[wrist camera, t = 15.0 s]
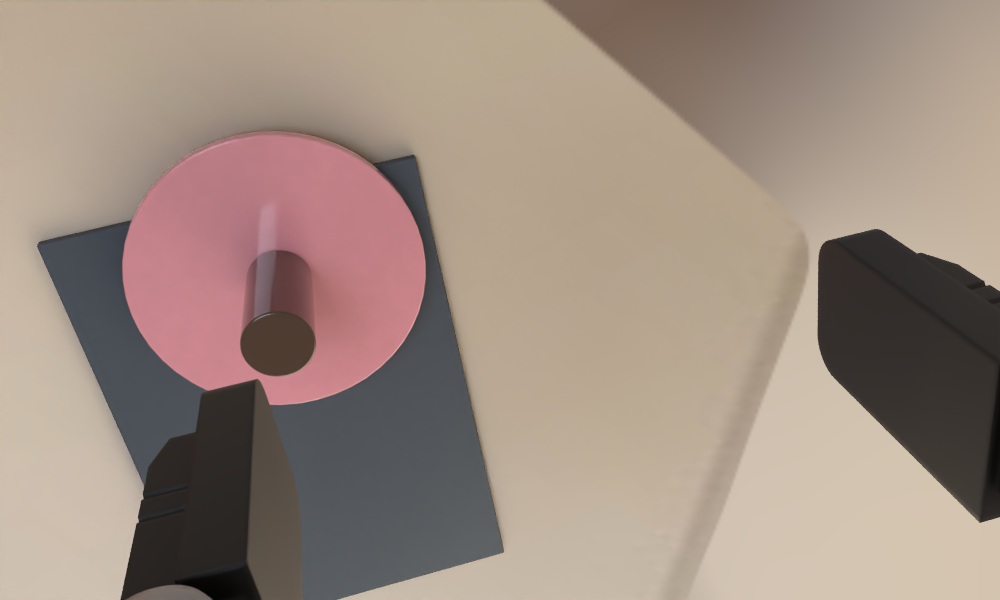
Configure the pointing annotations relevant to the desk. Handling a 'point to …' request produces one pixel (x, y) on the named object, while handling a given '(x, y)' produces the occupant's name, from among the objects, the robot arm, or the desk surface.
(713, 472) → the desk surface
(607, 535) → the desk surface
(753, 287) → the desk surface
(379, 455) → the mat
